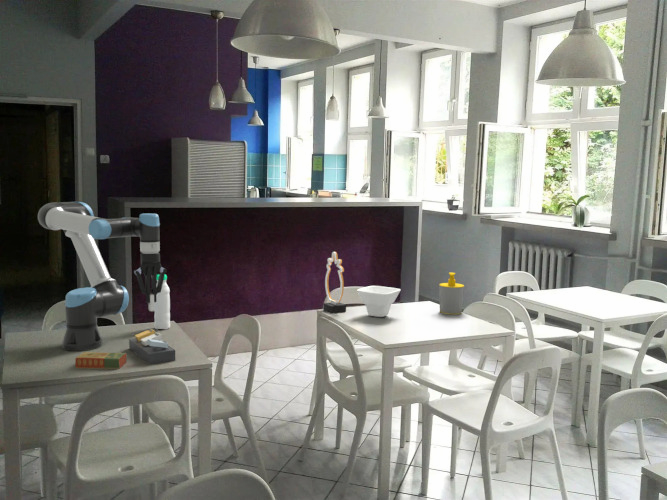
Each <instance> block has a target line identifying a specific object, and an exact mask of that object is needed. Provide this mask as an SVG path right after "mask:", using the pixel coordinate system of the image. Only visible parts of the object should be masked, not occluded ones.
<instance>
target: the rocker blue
mask: <svg viewBox="0 0 667 500" xmlns="http://www.w3.org/2000/svg"><path fill="white" fill-rule="evenodd" d="M147 344H148V345H150V346H155V347H163V348H168V346H170V344H169V342H167V341H166V340H161V341H160V340H152V339H148V340H147Z"/></svg>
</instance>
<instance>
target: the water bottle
mask: <svg viewBox="0 0 667 500" xmlns="http://www.w3.org/2000/svg"><path fill="white" fill-rule="evenodd" d="M158 279H159V274H157V278H156V284H158ZM167 280H168V276H167V274H165V275H164V280H163V284H162V289H161V292H160V293H157V295H156V302H154V311H153V312H154V317H153V318H154V322H153V323H154V324H153V325H154V329H155V330H158V329H164V330H168V329H170V328H171V312H170V311H171V298H170V297H171V296H170V292H171V290H170V287H169V285H168V284H167Z"/></svg>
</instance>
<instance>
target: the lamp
mask: <svg viewBox="0 0 667 500" xmlns="http://www.w3.org/2000/svg"><path fill="white" fill-rule="evenodd" d="M333 262H334V265H335V267H336V268H338V269H337V274H338V277H339V282H340V283H339V285H340V287H339V294H338V299H337V300H335V299H332V296H331V293H330V289H329V288H330V287H329V278H330V277H329V276H330V273H331V272H332V271H331V270H332V268H331V266H332V265H333ZM342 264H343V259H341V258H339V257H338V253H337V252H336V251H332V252H331V257H328V258H327V263H326V266H325V267H326V270H327V271H326V273H325V279H324V286H325V287H324V288H325V294H326V297H327V300H328V301H329V302H323V304H322V305H323V307H322V308H323V309H322V310H323V311H325V312H327V313H329V314H337V313H346V312H347V304H345V303H342V302H341V301H342V298H343V296H344V289H345V286H344V285H345V283H344V276H343V273H344V272H345V268H344V267H343V266H342Z"/></svg>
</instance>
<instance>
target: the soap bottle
mask: <svg viewBox="0 0 667 500" xmlns="http://www.w3.org/2000/svg"><path fill="white" fill-rule="evenodd" d="M448 275H449V278H448V279H447V282H441V283H439V284H438V285H439V286H438V287H439V288H438V290H439V296H438V297H439V312H440V314H441V313H442V314H446V315H460V314H462V313H463V312H462V311H463V301H464V292H465V285H464V284H462V283H457V282H456V281H457V280H456V279H455V275H456V272H448Z"/></svg>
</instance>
